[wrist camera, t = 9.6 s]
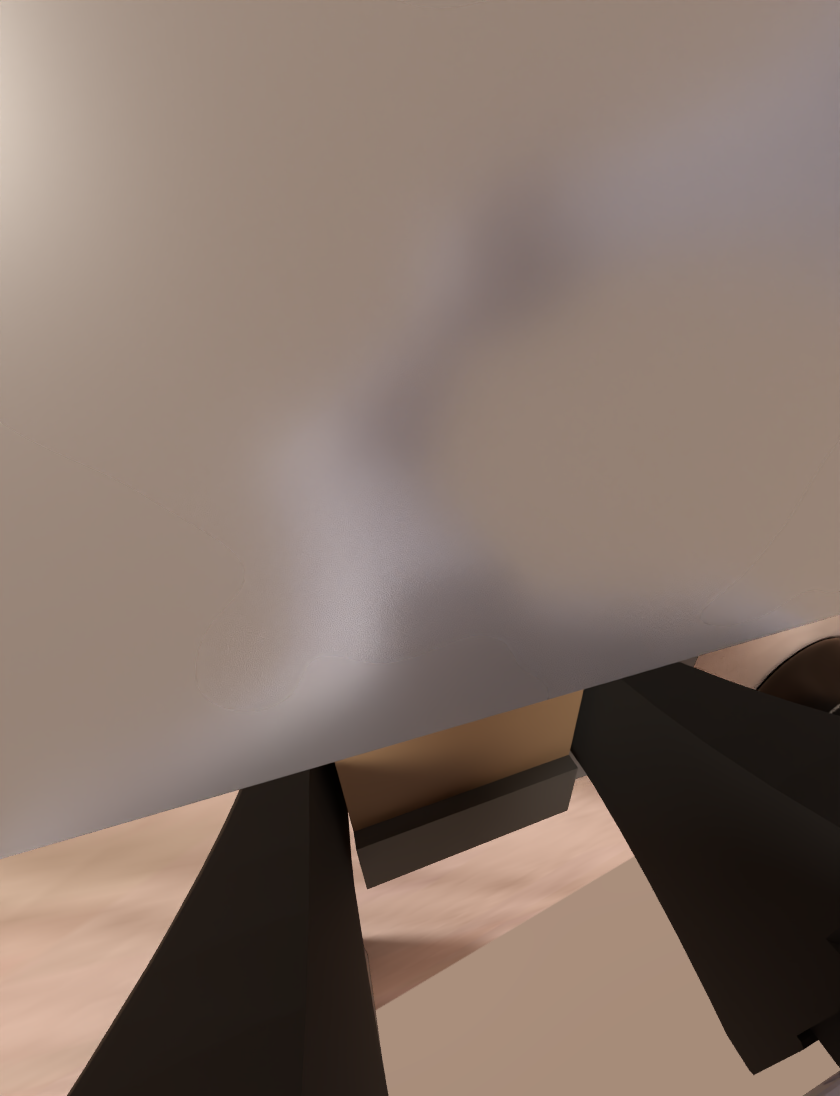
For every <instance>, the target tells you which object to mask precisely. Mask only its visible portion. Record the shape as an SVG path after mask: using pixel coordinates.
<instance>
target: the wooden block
mask: <svg viewBox="0 0 840 1096" xmlns="http://www.w3.org/2000/svg"><path fill="white" fill-rule="evenodd" d="M583 690H584V689H583ZM583 690H580V691H576V692H573V693H569V694H566V695H562V696H559V697H556V698H552V699H549V700H545V701H542V702H538V703H535V704H532V705H528V706H525V707H521V708H518V709H514V710H511V711H507V712H504V713H501V714H497V715H494V716H490V717H487V718H483V719H480V720H477V721H473V722H470V723H466V724H463V725H459V726H456V727H452V728H449V729H446V730H442V731H439V732H435V733H432V734H428V735H425V736H422V737H418V738H415V739H411V740H408V741H404V742H401V743H398V744H394V745H391V746H387V747H384V748H380V749H377V750H373V751H370V752H367V753H363V754H360V755H356V756H353V757H349V758H346V759H343V760H339V761H336V762H335V765H336V769H337V772H338V776H339V780H340V783H341V787H342V791H343V794H344V798H345V802H346V805H347V809H348V813H349V816H350V820H351V824H352V827H353V831H354V837H355V844H356V851H357V854H358V858H359V861H360V865H361V869H362V872H363V876H364V879H365V883H366V887H367V889H370V888H372V887H375V886H377V885H380V884H382V883H385V882H387V881H390V880H392V879H395V878H397V877H400V876H402V875H405V874H407V873H410V872H412V871H415V870H418V869H420V868H423V867H425V866H428V865H430V864H433V863H435V862H438V861H440V860H443V859H445V858H448V857H450V856H453V855H455V854H458V853H461V852H463V851H466V850H468V849H471V848H473V847H476V846H478V845H481V844H483V843H486V842H488V841H491V840H493V839H496V838H498V837H501V836H504V835H506V834H509V833H511V832H514V831H516V830H519V829H521V828H524V827H526V826H529V825H531V824H534V823H536V822H539V821H541V820H544V819H547V818H549V817H552V816H554V815H557V814H559V813H562V812H564V811H567V810H568V806H569V802H570V798H571V794H572V790H573V786H574V782H575V778H576V774H577V770H578V767H577V766H576V764H575V763H574V761H573V760H572V758H571V757H570V755H569V752H570V748H571V743H572V739H573V735H574V730H575V726H576V721H577V717H578V712H579V708H580V704H581V699H582V695H583Z"/></svg>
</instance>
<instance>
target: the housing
mask: <svg viewBox="0 0 840 1096" xmlns="http://www.w3.org/2000/svg"><path fill="white" fill-rule="evenodd" d="M837 615H840V0H0V859H2V858H6V857H9V856H13V855H16V854H20V853H23V852H26V851H30V850H33V849H37V848H40V847H44V846H47V845H51V844H54V843H57V842H61V841H64V840H68V839H71V838H75V837H78V836H81V835H85V834H88V833H92V832H95V831H99V830H102V829H106V828H109V827H112V826H116V825H119V824H123V823H126V822H130V821H133V820H136V819H140V818H143V817H147V816H150V815H154V814H157V813H160V812H164V811H167V810H171V809H174V808H178V807H181V806H185V805H188V804H191V803H195V802H198V801H202V800H205V799H209V798H212V797H215V796H219V795H222V794H226V793H229V792H233V791H236V790H239V789H243V788H246V787H250V786H253V785H257V784H260V783H264V782H267V781H270V780H274V779H277V778H281V777H284V776H288V775H291V774H294V773H298V772H301V771H305V770H308V769H312V768H315V767H319V766H322V765H325V764H329V763H332V762H336V761H339V760H343V759H346V758H349V757H353V756H356V755H360V754H363V753H367V752H370V751H373V750H377V749H380V748H384V747H387V746H391V745H394V744H398V743H401V742H404V741H408V740H411V739H415V738H418V737H422V736H425V735H428V734H432V733H435V732H439V731H442V730H446V729H449V728H452V727H456V726H459V725H463V724H466V723H470V722H473V721H477V720H480V719H483V718H487V717H490V716H494V715H497V714H501V713H504V712H507V711H511V710H514V709H518V708H521V707H525V706H528V705H532V704H535V703H538V702H542V701H545V700H549V699H552V698H556V697H559V696H562V695H566V694H569V693H573V692H576V691H580V690H583V689H586V688H590V687H593V686H597V685H600V684H604V683H607V682H611V681H614V680H617V679H621V678H624V677H628V676H631V675H635V674H638V673H641V672H645V671H648V670H652V669H655V668H659V667H662V666H665V665H669V664H672V663H676V662H679V661H683V660H686V659H690V658H693V657H696V656H700V655H703V654H707V653H710V652H714V651H717V650H720V649H724V648H727V647H731V646H734V645H738V644H741V643H744V642H748V641H751V640H755V639H758V638H762V637H765V636H769V635H772V634H775V633H779V632H782V631H786V630H789V629H793V628H796V627H799V626H803V625H806V624H810V623H813V622H817V621H820V620H824V619H827V618H830V617H834V616H837Z"/></svg>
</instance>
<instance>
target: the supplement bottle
mask: <svg viewBox="0 0 840 1096" xmlns="http://www.w3.org/2000/svg"><path fill="white" fill-rule="evenodd" d="M758 691H760V692H763V693H766V694H769V695H772V696H775V697H778V698H781V699H784V700H787V701H790V702H794V703H797V704H800V705H804V706H807V707H810V708H814V709H817V710H821V711H824V712H827V713H831V714H835V715H838V716H840V638H830V639H826V640H823V641H820V642H818V643H815V644H813V645H811V646H809V647H807V648H806V649H804V650H802V651H801V652H799V653H798V654H796V655H795V656H793V657H792V658H791V659H789V660H788V661H787V662H786V663H784V664H783V665H782V666H781V667H780V668H778V669H777V670H776V671H775V672H774V673H773V674H772V675H771V676H770V677H769V678H768V679H767V680H766V681H765V683H764V684H763V685H762V686H761V687H760V689H759V690H758Z"/></svg>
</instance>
